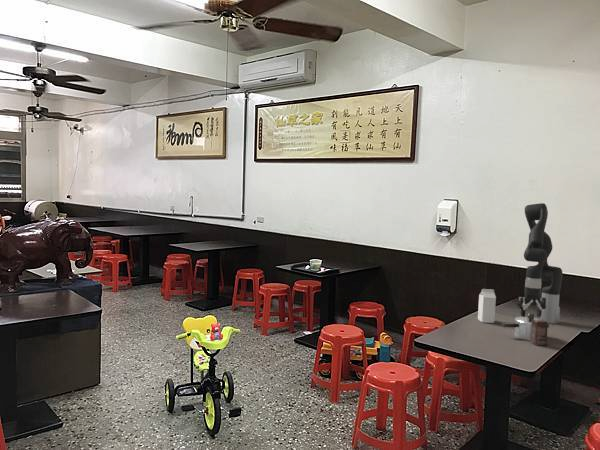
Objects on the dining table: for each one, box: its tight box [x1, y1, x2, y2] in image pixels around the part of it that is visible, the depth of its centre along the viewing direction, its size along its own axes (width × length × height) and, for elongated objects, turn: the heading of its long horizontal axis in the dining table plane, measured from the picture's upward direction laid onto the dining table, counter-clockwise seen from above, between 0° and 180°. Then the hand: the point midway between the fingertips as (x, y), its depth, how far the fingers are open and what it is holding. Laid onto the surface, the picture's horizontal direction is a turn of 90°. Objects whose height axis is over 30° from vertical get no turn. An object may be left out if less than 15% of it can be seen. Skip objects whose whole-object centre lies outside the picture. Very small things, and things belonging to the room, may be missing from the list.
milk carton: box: [477, 288, 497, 324], centre depth 271 cm, size 7×7×19 cm
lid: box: [514, 312, 541, 326], centre depth 243 cm, size 15×15×4 cm
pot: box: [501, 321, 550, 341], centre depth 243 cm, size 25×14×8 cm, turn 95°
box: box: [530, 320, 549, 346], centre depth 231 cm, size 6×4×12 cm
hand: (530, 316), depth 243 cm, fingers open, 8 cm apart
